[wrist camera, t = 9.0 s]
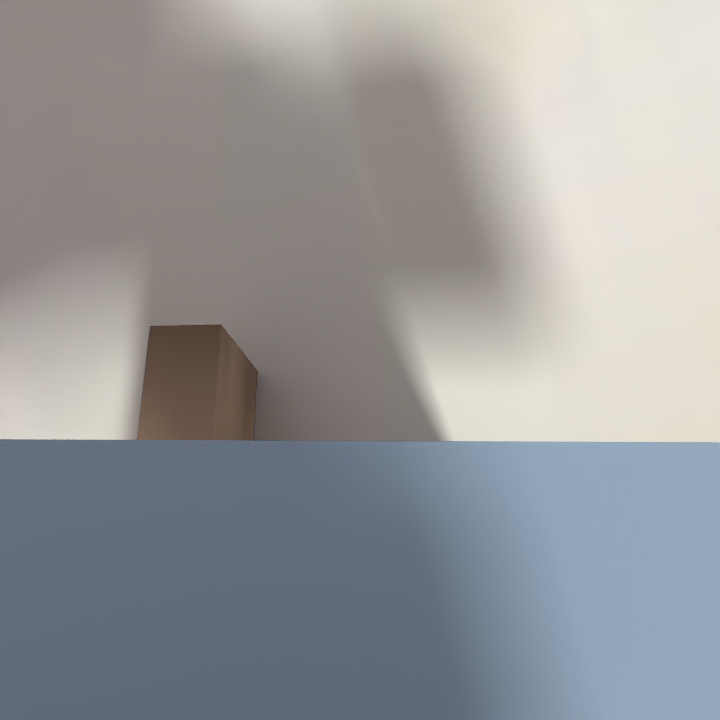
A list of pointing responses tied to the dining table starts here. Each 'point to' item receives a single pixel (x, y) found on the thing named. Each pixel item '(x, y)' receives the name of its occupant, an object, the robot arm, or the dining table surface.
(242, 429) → the wooden t-shaped piece
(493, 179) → the dining table surface
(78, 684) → the large blue square block
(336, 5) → the dining table surface
